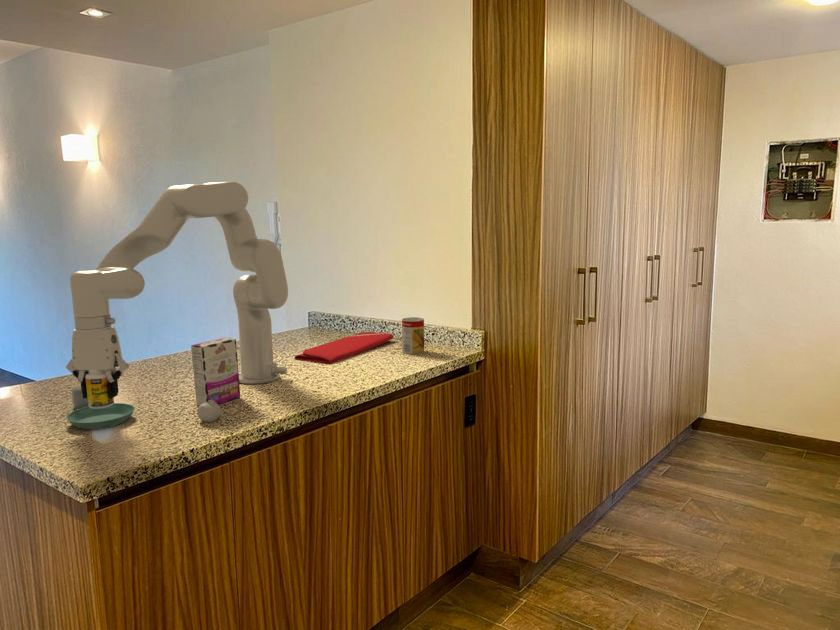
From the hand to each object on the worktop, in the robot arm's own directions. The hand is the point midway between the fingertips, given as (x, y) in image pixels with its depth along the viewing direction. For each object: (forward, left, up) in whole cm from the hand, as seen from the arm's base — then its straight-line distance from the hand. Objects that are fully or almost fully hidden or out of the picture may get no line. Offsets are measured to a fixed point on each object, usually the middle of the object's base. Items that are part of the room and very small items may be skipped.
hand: (100, 396), depth 149 cm
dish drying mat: (-44, -81, -7) cm, 92 cm away
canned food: (-69, -78, -6) cm, 104 cm away
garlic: (-26, -2, -7) cm, 27 cm away
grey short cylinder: (+11, -12, -6) cm, 17 cm away
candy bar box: (-22, -17, -6) cm, 28 cm away
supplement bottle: (0, 0, -3) cm, 3 cm away
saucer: (0, 0, -7) cm, 7 cm away
